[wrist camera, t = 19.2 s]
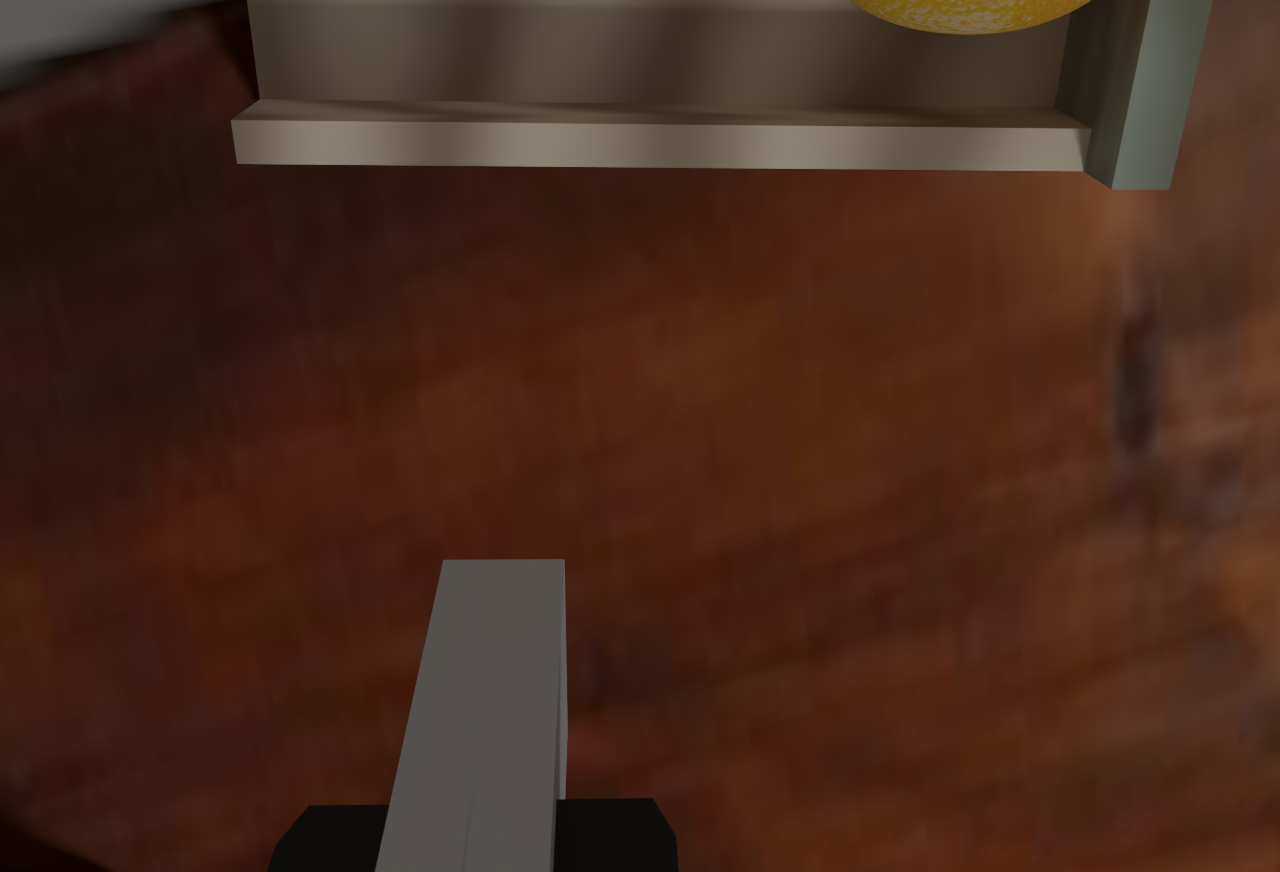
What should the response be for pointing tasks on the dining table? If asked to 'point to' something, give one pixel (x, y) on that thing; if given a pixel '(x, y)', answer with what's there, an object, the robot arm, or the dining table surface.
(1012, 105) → the channel
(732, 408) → the dining table surface
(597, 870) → the robot arm
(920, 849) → the dining table surface
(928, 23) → the fruit
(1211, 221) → the dining table surface
